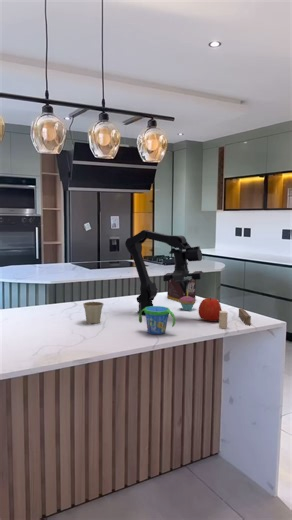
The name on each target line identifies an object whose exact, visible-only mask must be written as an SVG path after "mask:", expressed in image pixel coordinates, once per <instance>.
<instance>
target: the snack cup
mask: <svg viewBox="0 0 292 520" xmlns="http://www.w3.org/2000/svg"><path fill="white" fill-rule="evenodd" d="M143 311H144V312H145V315H144V316H145V322H146V328H147V332H148V333H149V334H152V335H162V334H165V333H166V331H167V325H168V319H169V316H170V317H171V318H172V325H171V327H172V328H173V327H175V324H176V317H175V315H174V313H173V311H171V310H170V308H169V307H167V306H163V305H153V306H149V307H146V308H145V309H143V310H142V311H141V312H140V314H139V313H138V322H139V323H142V322H143V317H142V316H143V315H142V312H143Z"/></svg>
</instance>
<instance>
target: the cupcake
mask: <svg viewBox="0 0 292 520" xmlns="http://www.w3.org/2000/svg"><path fill="white" fill-rule="evenodd" d="M178 303H179V304H180V305H181V307H182V310H184V311H192V310H193V307H194V304H196V298H195V299H194V298H192V297H190V296H188V289H187V296H184V297H182V298H180V300H179V302H178Z"/></svg>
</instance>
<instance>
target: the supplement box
mask: <svg viewBox="0 0 292 520" xmlns="http://www.w3.org/2000/svg"><path fill="white" fill-rule="evenodd" d="M184 280H185V279H184ZM196 281H197V280H194V279H191V280H190V282H189V285H188V296H190V297H192V298H194V299H195V300H196V292H197V291H196V290H197V289H196V285H197V283H196ZM166 294H167V296H166V297H167V299H170V300H172V301H175V302H178V303H179V300H180V298H182V297H184V296H187V293H184V292H183V290H182V288H181V286H180V285H179V284H178V283H177V282H175V281H174V280H173V279H170V281H167V293H166Z"/></svg>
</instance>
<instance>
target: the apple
mask: <svg viewBox="0 0 292 520" xmlns="http://www.w3.org/2000/svg"><path fill="white" fill-rule="evenodd" d="M219 311H223V310H222V306H221V304H220V300H218V299H217V298H212V297H210V298H203V299H202V300H201V302H200V304H199V305H198V315H199V317H200V319H201V320H204V321H208V322H216V321H217V322H218V320H219Z"/></svg>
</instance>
